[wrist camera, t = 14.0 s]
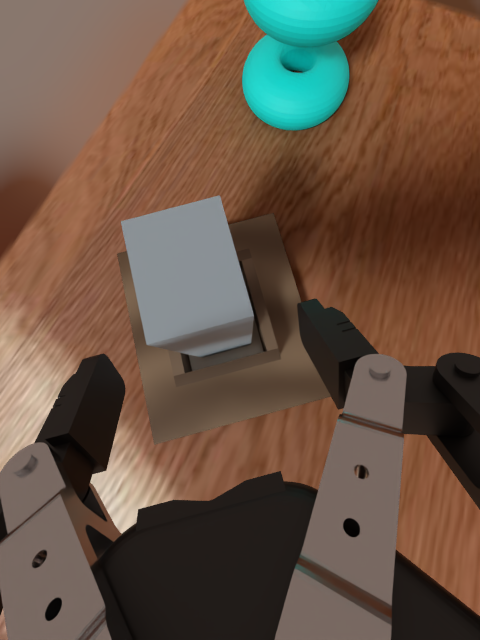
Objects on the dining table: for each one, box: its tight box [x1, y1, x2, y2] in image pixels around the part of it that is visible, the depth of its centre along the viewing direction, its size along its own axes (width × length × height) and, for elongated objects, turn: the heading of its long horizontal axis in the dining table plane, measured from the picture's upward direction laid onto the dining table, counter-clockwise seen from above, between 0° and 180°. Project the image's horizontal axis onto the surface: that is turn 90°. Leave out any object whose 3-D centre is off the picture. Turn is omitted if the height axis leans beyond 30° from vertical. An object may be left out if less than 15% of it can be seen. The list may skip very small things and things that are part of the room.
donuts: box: [242, 0, 378, 130], centre depth 22 cm, size 10×10×10 cm
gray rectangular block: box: [121, 196, 254, 358], centre depth 16 cm, size 5×4×12 cm
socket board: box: [117, 213, 331, 445], centre depth 22 cm, size 16×14×4 cm
